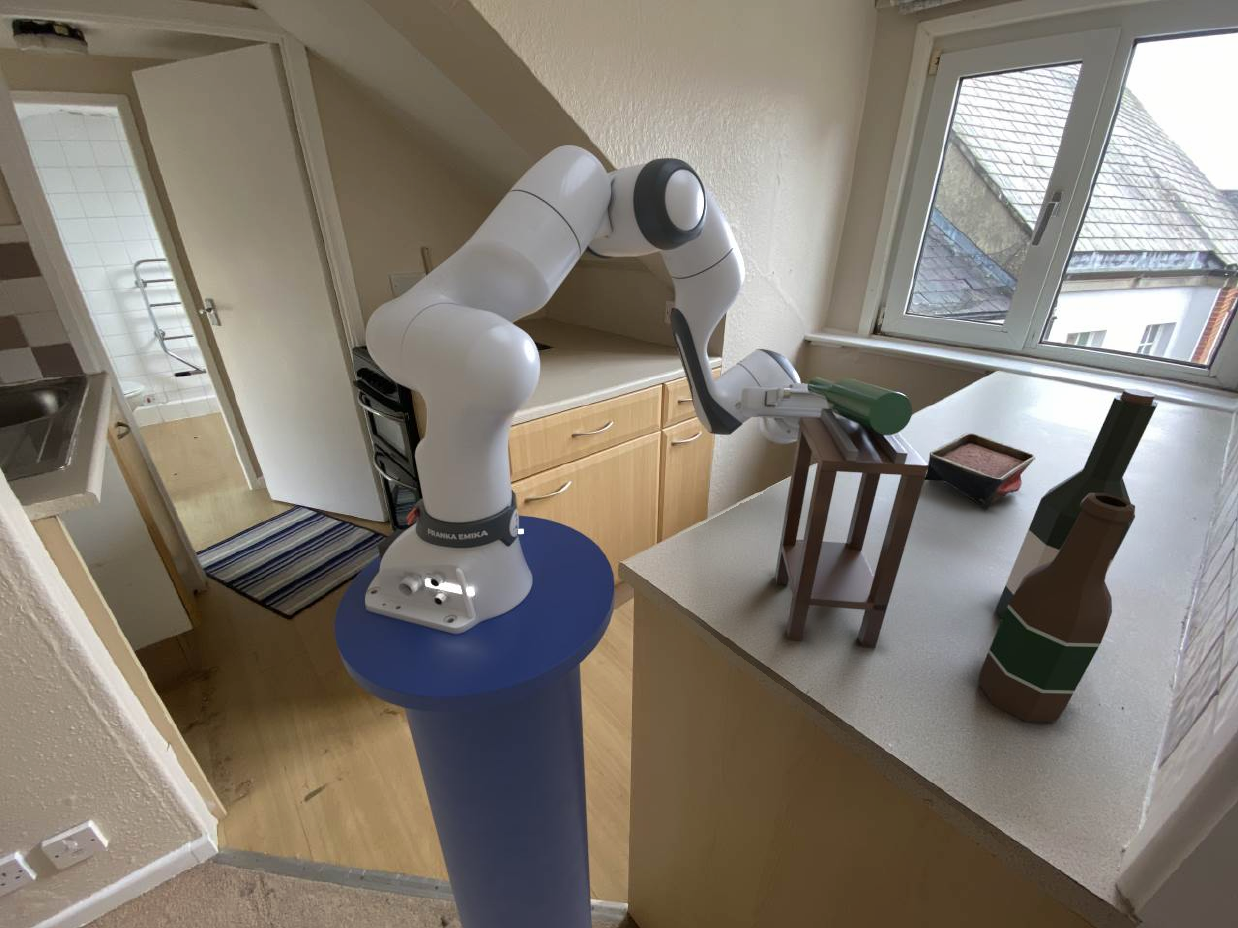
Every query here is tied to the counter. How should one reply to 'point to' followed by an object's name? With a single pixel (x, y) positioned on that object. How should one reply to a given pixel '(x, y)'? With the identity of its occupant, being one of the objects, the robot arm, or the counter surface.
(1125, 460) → the wine bottle
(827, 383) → the green bottle
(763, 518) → the counter surface
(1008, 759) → the counter surface
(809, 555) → the bottle rack
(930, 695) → the counter surface
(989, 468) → the baking dish
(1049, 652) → the beer bottle
